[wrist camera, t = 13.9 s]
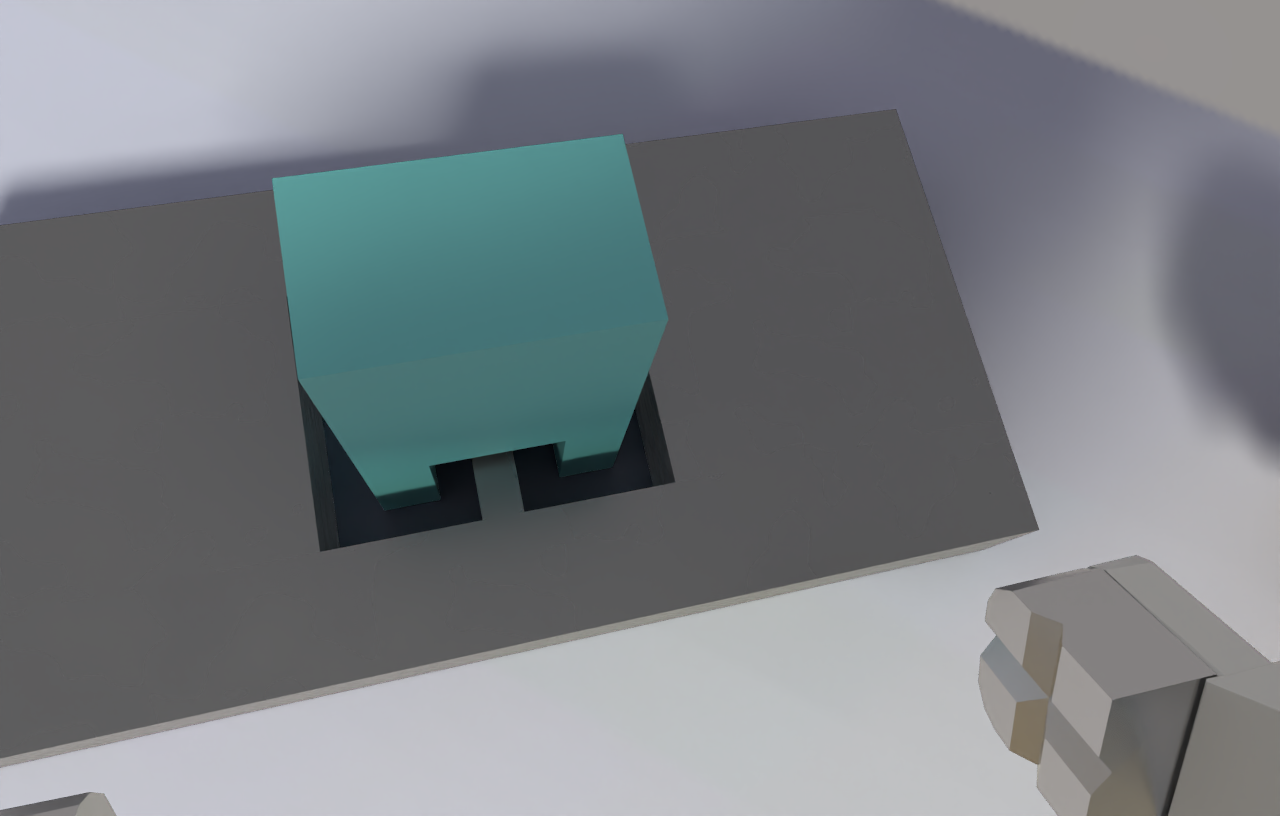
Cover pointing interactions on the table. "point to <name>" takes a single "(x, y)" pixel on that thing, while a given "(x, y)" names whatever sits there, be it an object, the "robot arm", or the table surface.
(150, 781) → the table surface
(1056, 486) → the table surface
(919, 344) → the gray rectangular base
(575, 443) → the teal rectangular prism
